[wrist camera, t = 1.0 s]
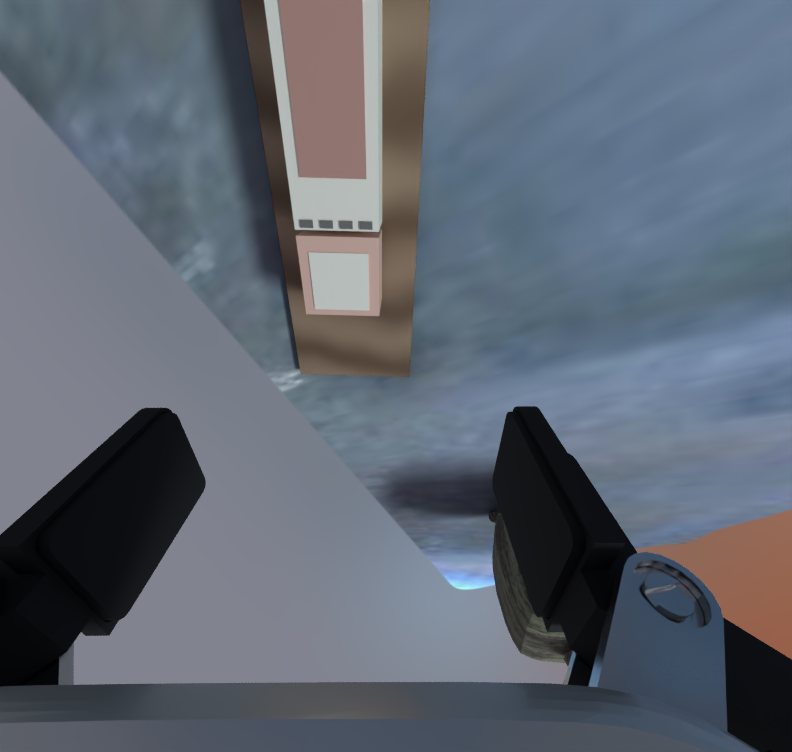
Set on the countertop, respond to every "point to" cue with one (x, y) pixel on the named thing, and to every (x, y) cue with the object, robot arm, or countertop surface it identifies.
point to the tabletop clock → (522, 604)
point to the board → (401, 165)
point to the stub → (341, 272)
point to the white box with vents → (330, 109)
